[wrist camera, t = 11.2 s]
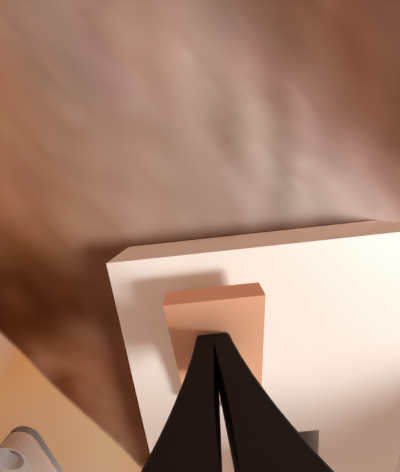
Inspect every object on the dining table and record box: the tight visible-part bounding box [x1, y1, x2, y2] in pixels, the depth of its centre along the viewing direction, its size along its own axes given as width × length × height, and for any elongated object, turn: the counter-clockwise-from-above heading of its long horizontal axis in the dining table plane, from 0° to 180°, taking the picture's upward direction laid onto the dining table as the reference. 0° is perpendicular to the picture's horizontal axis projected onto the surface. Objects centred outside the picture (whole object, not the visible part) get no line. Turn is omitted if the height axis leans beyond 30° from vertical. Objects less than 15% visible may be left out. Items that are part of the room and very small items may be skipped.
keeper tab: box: [163, 282, 266, 406], centre depth 9 cm, size 4×8×1 cm, turn 6°
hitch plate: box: [106, 220, 400, 472], centre depth 12 cm, size 16×20×3 cm
